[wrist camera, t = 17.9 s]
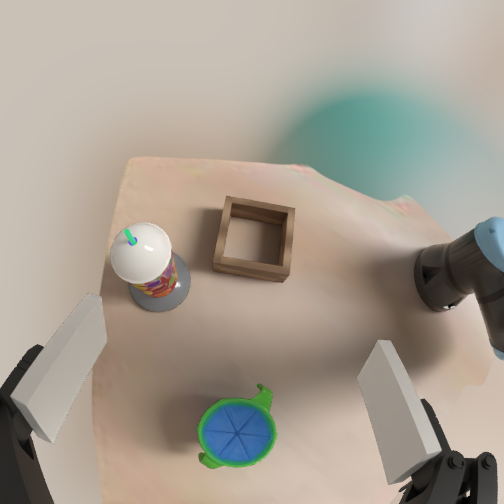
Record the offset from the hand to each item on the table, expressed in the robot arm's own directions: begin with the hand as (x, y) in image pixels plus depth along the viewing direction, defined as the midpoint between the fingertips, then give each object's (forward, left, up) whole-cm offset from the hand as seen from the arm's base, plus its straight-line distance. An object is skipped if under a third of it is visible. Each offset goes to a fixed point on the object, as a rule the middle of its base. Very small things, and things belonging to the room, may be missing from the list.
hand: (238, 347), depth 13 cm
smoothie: (0, -16, -35) cm, 39 cm away
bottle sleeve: (-17, -11, -36) cm, 41 cm away
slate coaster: (0, -17, -36) cm, 39 cm away
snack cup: (+7, +9, -36) cm, 38 cm away
